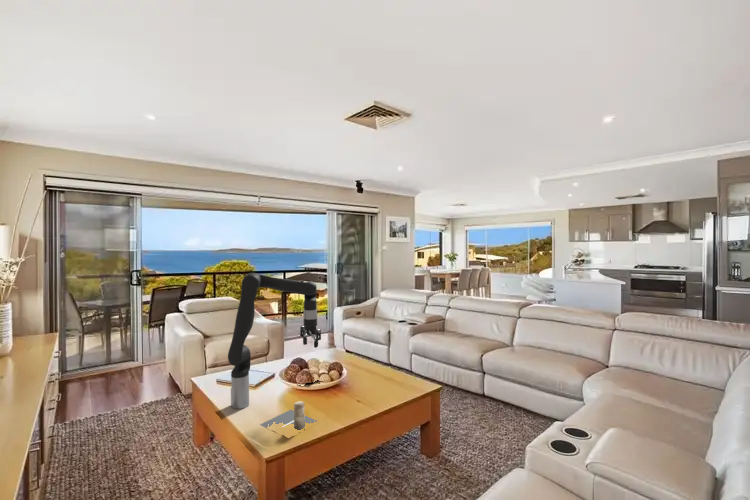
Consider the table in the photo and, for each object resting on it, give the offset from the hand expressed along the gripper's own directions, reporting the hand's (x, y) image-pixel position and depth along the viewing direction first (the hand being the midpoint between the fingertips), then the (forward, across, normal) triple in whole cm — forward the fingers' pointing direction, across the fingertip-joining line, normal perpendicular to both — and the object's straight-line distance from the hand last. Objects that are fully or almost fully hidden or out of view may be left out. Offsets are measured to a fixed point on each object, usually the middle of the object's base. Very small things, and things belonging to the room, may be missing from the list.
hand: (310, 346), depth 209 cm
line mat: (+33, +8, -22) cm, 41 cm away
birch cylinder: (+33, +15, -22) cm, 42 cm away
